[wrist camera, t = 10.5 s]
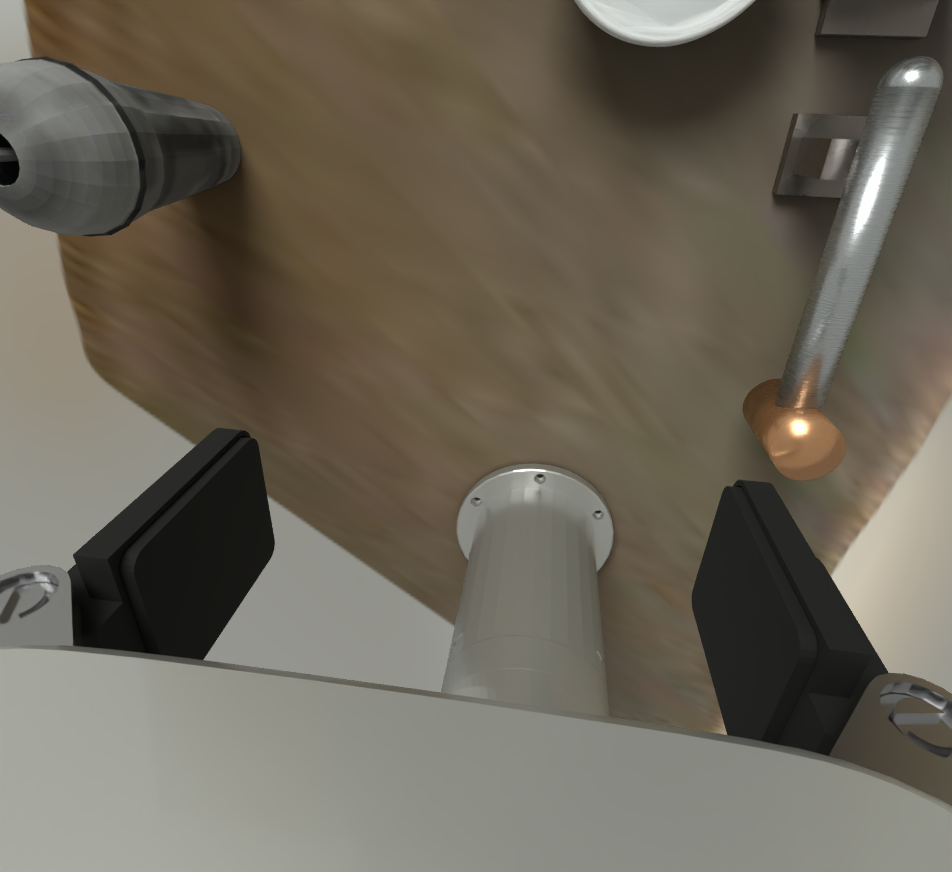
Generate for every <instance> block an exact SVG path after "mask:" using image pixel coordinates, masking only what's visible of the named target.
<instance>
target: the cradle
mask: <svg viewBox="0 0 952 872" xmlns="http://www.w3.org/2000/svg"><path fill="white" fill-rule="evenodd" d="M866 119H867V116H846V115H822V114H793V117H792V121H791V125H790V128H789V132H788V136H787V139H786V143H785V147H784V150H783V154H782V158H781V162H780V165H779V169H778V173H777V176H776V180H775V184H774V187H773V191H772V193H774V194H778V195H796V196H815V197H833V198H841V196H842V193H843V190H844V187H845V184H846V181H847V177H848V174H849V171H850V168H851V165H852V162H853V159H854V156H855V153H856V150H857V147H858V144H859V141H860V138H861V135H862V132H863V128H864V125H865V122H866Z"/></svg>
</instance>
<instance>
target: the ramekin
mask: <svg viewBox="0 0 952 872" xmlns="http://www.w3.org/2000/svg"><path fill="white" fill-rule="evenodd" d="M574 1H575V2H576V4H577V5H578V7H579V8H580V10H581V11H582V12H583V13H584V14H585V15H586V16H587V17H588V18H589V19H590V20H591V21H592V22H593V23H594V24H595V25H596V26H598V27H599V28H600V29H602V30H603V31H605V32H606V33H608V34H610V35H611V36H613V37H616V38H618V39H620V40H623V41H625V42H628V43H632V44H636V45H642V46H650V47H667V46H675V45H679V44H683V43H687V42H690V41H693V40H696V39H698V38H701V37H703V36H705V35H707V34H709V33H711V32H713V31H715V30H717V29H719V28H721V27H722V26H724V25H726V24H727V23H729V22H730V21H732V20H733V19H734V18H736V17H737V16H738V15H740V14H741V13H742V12H743V11H744V10H746V9H747V8H748V7H749V6H750V5H751V4H752V3H753V2H754V1H756V0H574Z"/></svg>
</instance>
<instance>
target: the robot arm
mask: <svg viewBox="0 0 952 872" xmlns="http://www.w3.org/2000/svg"><path fill="white" fill-rule="evenodd" d="M539 474H542V475H539ZM613 535H614V530H613V522H612V517H611V514H610V511H609V508H608V506H607V504H606V502H605V501H604V499H603V497H602V496H601V495H600V493H599V492H598V491H597V490H596V489H595V488H594V487H593V486H592V485H591V484H590V483H588V482H587V481H586V480H584V479H583V478H582V477H580V476H578V475H576V474H574V473H572V472H570V471H568V470H565V469H562V468H559V467H555V466H551V465H544V464H518V465H513V466H508V467H505V468H502V469H499V470H497V471H494V472H492V473H490V474H489V475H487V476H485V477H484V478H482V479H481V480H480V481H478V482H477V483H476V484H475V485H474V486H473V487H472V488H471V489H470V491H469V492H468V493H467V495H466V496H465V498H464V500H463V502H462V505H461V507H460V510H459V515H458V519H457V537H458V542H459V545H460V547H461V550H462V552H463V554H464V556H465V557H466V559H467V560H468V565H467V570H466V575H465V580H464V585H463V590H462V594H461V599H460V604H459V609H458V614H457V619H456V623H455V628H454V633H453V638H452V644H451V648H450V652H449V658H448V662H447V667H446V672H445V675H444V680H443V685H442V690H441V693H440V692H432V691H426V690H419V689H412V688H404V687H397V686H389V685H383V684H375V683H368V682H361V681H354V680H346V679H339V678H332V677H324V676H317V675H310V674H302V673H295V672H288V671H280V670H272V669H265V668H257V667H250V666H243V665H235V664H228V663H220V662H212V661H205V660H203V659H204V658H205V656H206V655H207V653H208V652H209V650H210V649H211V647H212V646H213V644H214V643H215V641H216V640H217V638H218V637H219V635H220V634H221V632H222V631H223V629H224V628H225V626H226V625H227V623H228V622H229V620H230V619H231V617H232V616H233V614H234V613H235V611H236V610H237V608H238V607H239V605H240V604H241V602H242V601H243V599H244V598H245V596H246V595H247V593H248V592H249V590H250V589H251V587H252V586H253V584H254V583H255V581H256V580H257V578H258V576H259V575H260V574H261V572H262V570H263V569H264V568H265V566H266V564H267V563H268V562H269V560H270V558H271V557H272V554H273V551H274V545H275V541H274V534H273V528H272V522H271V517H270V511H269V505H268V499H267V493H266V487H265V481H264V476H263V470H262V464H261V458H260V452H259V446H258V443H257V441H256V440H255V439H254V438H251V437H250V435H249V433H248V432H246V431H243V430H233V429H223V428H217V429H215V430H213V431H212V432H211V433H210V434H209V435H208V436H207V437H206V438H204V439H203V440H202V441H201V442H200V443H199V444H198V445H197V446H195V447H194V448H193V449H192V450H191V451H190V452H189V453H187V454H186V455H185V456H184V457H183V458H182V459H181V460H180V461H178V462H177V463H176V464H175V465H174V466H173V467H172V468H170V469H169V470H168V471H167V472H166V473H165V474H164V475H163V476H162V477H160V478H159V479H158V480H157V481H156V482H155V483H154V484H152V485H151V486H150V487H149V488H148V489H147V490H146V491H145V492H143V493H142V494H141V495H140V496H139V497H138V498H137V499H135V500H134V501H133V502H132V503H131V504H130V505H129V506H128V507H126V508H125V509H124V510H123V511H122V512H121V513H120V514H118V515H117V516H116V517H115V518H114V519H113V520H112V521H111V522H110V523H108V524H107V525H106V526H105V527H104V528H103V529H102V530H100V531H99V532H98V533H97V534H96V535H95V536H94V537H92V538H91V539H90V540H89V541H88V542H87V543H86V544H85V545H83V546H82V547H81V548H80V549H79V550H78V551H77V552H76V553H75V554H73V557H74V559H75V562H76V565H74V566H73V567H72V568H71V569H70V570H69V571H68V572H66V571H64V570H63V569H62V568H60V567H54V566H50V565H41V566H31V567H26V568H21V569H17V570H14V571H11V572H8V573H5V574H3V575H0V872H952V694H951V693H949V692H948V691H946V690H945V689H943V688H942V687H939V686H937V685H935V684H933V683H931V682H929V681H926V680H924V679H922V678H918V677H914V676H911V675H907V674H898V673H888V671H887V669H886V668H885V666H884V664H883V663H882V661H881V659H880V658H879V656H878V654H877V653H876V651H875V649H874V648H873V646H872V644H871V643H870V641H869V640H868V638H867V636H866V634H865V633H864V631H863V630H862V628H861V626H860V624H859V623H858V621H857V620H856V618H855V616H854V615H853V613H852V611H851V610H850V608H849V606H848V605H847V603H846V601H845V600H844V598H843V597H842V595H841V593H840V591H839V590H838V588H837V586H836V585H835V583H834V581H833V580H832V578H831V576H830V575H829V573H828V571H827V570H826V568H825V566H824V565H823V564H822V562H821V561H820V560H819V559H818V558H816V557H815V555H814V553H813V552H812V550H811V548H810V547H809V545H808V543H807V542H806V540H805V538H804V537H803V535H802V533H801V532H800V530H799V528H798V527H797V525H796V523H795V521H794V520H793V518H792V516H791V515H790V513H789V511H788V510H787V508H786V506H785V505H784V503H783V501H782V500H781V498H780V496H779V495H778V493H777V491H776V490H775V488H774V486H773V485H772V484H771V483H766V482H756V481H746V480H738V481H736V483H735V484H734V486H733V487H731V486H727V487H725V488H724V490H723V493H722V496H721V499H720V502H719V505H718V509H717V512H716V515H715V519H714V522H713V525H712V528H711V532H710V535H709V538H708V542H707V545H706V548H705V551H704V555H703V558H702V561H701V565H700V568H699V571H698V574H697V578H696V581H695V584H694V588H693V592H692V608H693V612H694V616H695V620H696V623H697V627H698V630H699V634H700V638H701V641H702V645H703V648H704V652H705V656H706V659H707V663H708V666H709V670H710V674H711V677H712V681H713V685H714V688H715V692H716V695H717V699H718V703H719V706H720V710H721V713H722V717H723V721H724V724H725V728H726V732H727V735H723V734H717V733H711V732H705V731H698V730H692V729H686V728H679V727H673V726H667V725H661V724H654V723H648V722H641V721H635V720H628V719H621V718H614V717H609V706H608V695H607V683H606V671H605V659H604V648H603V636H602V625H601V613H600V601H599V590H598V578H597V572H598V570H599V569H600V568H601V567H602V566H603V565H604V563H605V562H606V560H607V558H608V557H609V554H610V551H611V548H612V545H613Z"/></svg>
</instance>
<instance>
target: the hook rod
mask: <svg viewBox="0 0 952 872" xmlns="http://www.w3.org/2000/svg"><path fill="white" fill-rule="evenodd" d="M943 78H944V77H943V70H942V68H941V66H940V64H939V63H938V62H937V61H936V60H934V59H933V58H931V57H927V56H912V57H909V58H906V59H903V60H901V61H900V62H898V63H896V64H895V65H893V66H892V67H891V68H890V69H889V70H888V71H887V72H886V73H885V74H884V75H883V77H882V78H881V80H880V82H879V84H878V86H877V89H876V92H875V95H874V98H873V101H872V104H871V107H870V110H869V113H868V116H867V119H866V122H865V125H864V128H863V132H862V135H861V138H860V141H859V144H858V147H857V150H856V153H855V156H854V159H853V162H852V165H851V168H850V171H849V174H848V177H847V181H846V184H845V187H844V190H843V193H842V196H841V199H840V202H839V205H838V208H837V211H836V214H835V217H834V220H833V223H832V226H831V229H830V233H829V236H828V239H827V242H826V245H825V248H824V251H823V254H822V257H821V260H820V263H819V266H818V269H817V272H816V275H815V278H814V281H813V285H812V288H811V291H810V294H809V297H808V300H807V303H806V306H805V309H804V312H803V315H802V318H801V321H800V324H799V327H798V330H797V334H796V337H795V340H794V343H793V346H792V349H791V352H790V355H789V358H788V361H787V364H786V367H785V370H784V373H783V376H782V379H772V380H768V381H765V382H763V383H760V384H759V385H757V386H756V387H754V388H753V389H752V390H751V391H750V392H749V393H748V395H747V396H746V398H745V400H744V403H743V415H744V417H745V419H746V421H747V422H748V424H749V426H750V427H751V429H752V430H753V432H754V433H755V435H756V437H757V438H758V440H759V441H760V443H761V444H762V446H763V448H764V449H765V451H766V452H767V454H768V455H769V457H770V459H771V460H772V462H773V463H774V465H775V467H776V468H777V470H778V471H779V472H780V473H781V474H782V475H784V476H785V477H787V478H790V479H793V480H798V481H808V480H814V479H818V478H820V477H823V476H825V475H827V474H829V473H830V472H832V471H833V470H834V469H835V468H836V467H837V466H838V465H839V464H840V463H841V461H842V460H843V458H844V456H845V453H846V441H845V438H844V436H843V435H842V433H841V432H840V431H839V430H838V429H837V428H836V427H835V426H834V425H833V424H832V422H831V421H830V420H829V419H828V418H827V417H826V416H825V415H824V414H823V413H822V412H821V409H822V406H823V403H824V401H825V398H826V395H827V393H828V390H829V387H830V385H831V382H832V379H833V377H834V374H835V371H836V369H837V366H838V363H839V361H840V358H841V355H842V353H843V350H844V347H845V345H846V342H847V339H848V337H849V334H850V331H851V329H852V326H853V323H854V321H855V318H856V315H857V313H858V310H859V307H860V305H861V302H862V299H863V297H864V294H865V291H866V289H867V286H868V283H869V281H870V278H871V275H872V273H873V270H874V267H875V265H876V262H877V259H878V257H879V254H880V251H881V249H882V246H883V243H884V241H885V238H886V235H887V233H888V230H889V227H890V224H891V222H892V219H893V216H894V214H895V211H896V208H897V206H898V203H899V200H900V198H901V195H902V192H903V190H904V187H905V184H906V182H907V179H908V176H909V174H910V171H911V168H912V166H913V163H914V160H915V158H916V155H917V152H918V150H919V147H920V144H921V142H922V139H923V136H924V134H925V131H926V128H927V126H928V123H929V120H930V118H931V115H932V112H933V110H934V107H935V104H936V102H937V99H938V96H939V94H940V91H941V88H942V85H943Z"/></svg>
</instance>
